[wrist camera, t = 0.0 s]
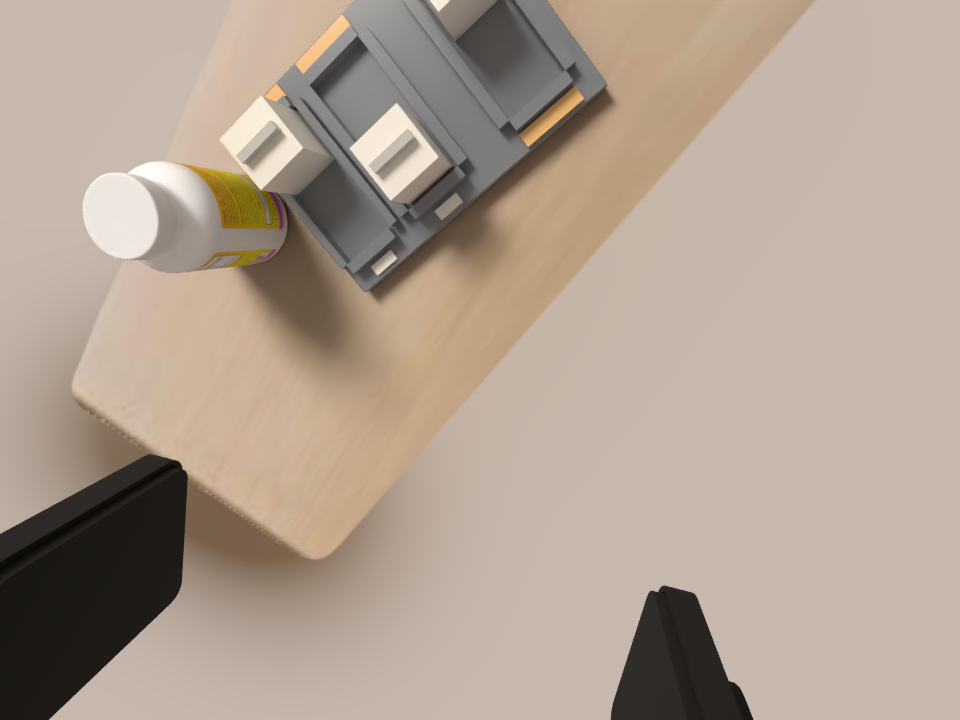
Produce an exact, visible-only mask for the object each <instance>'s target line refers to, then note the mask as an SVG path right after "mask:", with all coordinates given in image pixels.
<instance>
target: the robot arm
mask: <svg viewBox="0 0 960 720" xmlns="http://www.w3.org/2000/svg"><path fill="white" fill-rule="evenodd" d="M187 481H188V477H187V473H186V471H184V470H182V466H181V463H180V462H178V461H176V460H172V459H168V458H164V457H160V456H156V455H150V454H149V455H146V456H144V457H142V458H140V459H138V460H137V461H135V462H133V463H131V464H129V465H127V466H126V467H124V468H122V469H120V470H118V471H116V472H114V473H112V474H111V475H109V476H107V477H105V478H103V479H101V480H99V481H98V482H96V483H94V484H92V485H90V486H88V487H86V488H85V489H83V490H81V491H79V492H77V493H75V494H74V495H72V496H70V497H68V498H66V499H64V500H62V501H61V502H59V503H57V504H55V505H53V506H51V507H50V508H48V509H46V510H44V511H42V512H40V513H38V514H36V515H35V516H33V517H31V518H29V519H27V520H25V521H23V522H22V523H20V524H18V525H16V526H14V527H12V528H10V529H9V530H7V531H5V532H3V533H1V534H0V720H49V719H50V718H51V717H52V716H53V715H54V714H55V713H56V712H57V711H58V710H59V709H60V708H62V707H63V706H64V705H65V704H66V702H68V701H69V700H70V699H71V698H72V697H73V696H74V695H75V694H76V693H77V692H78V691H79V690H80V689H81V688H82V687H84V686H85V685H86V684H87V683H88V682H89V681H90V680H91V679H92V678H93V677H94V676H95V675H96V674H97V673H98V672H99V671H100V670H101V669H102V668H103V667H104V666H106V665H107V664H108V663H109V662H110V661H111V660H112V659H113V658H114V657H115V656H116V655H117V654H118V653H119V652H120V651H121V650H122V649H123V648H124V647H125V646H126V645H128V644H129V643H130V642H131V641H132V640H133V639H134V638H135V637H136V636H137V635H138V634H139V633H140V632H141V631H142V630H143V629H144V628H145V627H146V626H147V625H148V624H150V623H151V622H152V621H153V620H154V619H155V618H156V617H157V616H158V615H159V614H160V613H161V612H162V611H163V610H164V609H165V608H166V607H167V606H168V605H169V604H171V602H172V601H173V600H174V599H175V597H176V596H177V594H178V592H179V590H180V587H181V583H182V568H183V551H184V533H185V516H186V498H187ZM611 720H753V717H752V715H751V712H750V710H749V707H748V705H747V702H746V700H745V697H744V695H743V693H742V691H741V689H740V687H738V686H737V685H736V684H735V683H733V682H730V681H728V678H727V676H726V673H725V670H724V668H723V665H722V663H721V660H720V657H719V654H718V652H717V649H716V647H715V644H714V641H713V639H712V636H711V633H710V631H709V628H708V625H707V623H706V620H705V618H704V615H703V612H702V609H701V607H700V604H699V601H698V599H697V597H696V595H695V594H694V593H691V592H688V591H684V590H680V589H676V588H672V587H668V586H662V587H661V588H660V589H659V592H655V591H650V592H649V594H648V596H647V599H646V602H645V605H644V608H643V611H642V614H641V617H640V620H639V624H638V627H637V630H636V633H635V636H634V639H633V642H632V645H631V649H630V652H629V655H628V658H627V661H626V664H625V667H624V670H623V674H622V677H621V680H620V683H619V686H618V690H617V692H616V695H615V699H614V702H613V706H612V712H611Z"/></svg>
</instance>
